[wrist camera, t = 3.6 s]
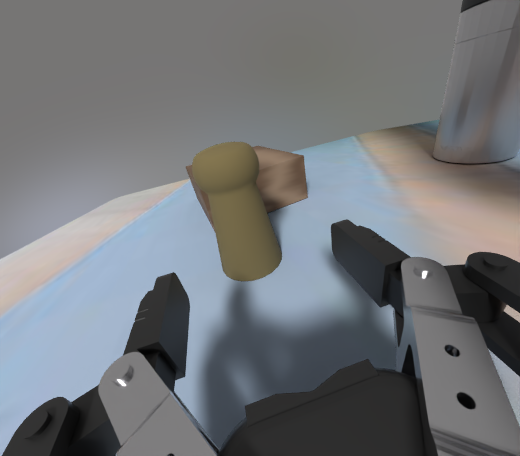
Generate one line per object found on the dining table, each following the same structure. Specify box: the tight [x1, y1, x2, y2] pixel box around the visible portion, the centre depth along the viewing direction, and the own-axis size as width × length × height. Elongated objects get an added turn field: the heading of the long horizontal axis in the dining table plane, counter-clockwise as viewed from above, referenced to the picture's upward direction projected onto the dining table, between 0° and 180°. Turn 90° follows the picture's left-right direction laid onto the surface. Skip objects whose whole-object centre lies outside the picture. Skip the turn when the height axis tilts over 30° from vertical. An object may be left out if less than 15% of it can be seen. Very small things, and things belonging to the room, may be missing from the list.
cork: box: [192, 142, 282, 281], centre depth 19 cm, size 6×6×11 cm
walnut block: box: [186, 146, 308, 231], centre depth 35 cm, size 14×16×6 cm
